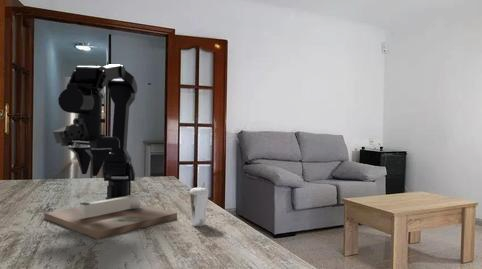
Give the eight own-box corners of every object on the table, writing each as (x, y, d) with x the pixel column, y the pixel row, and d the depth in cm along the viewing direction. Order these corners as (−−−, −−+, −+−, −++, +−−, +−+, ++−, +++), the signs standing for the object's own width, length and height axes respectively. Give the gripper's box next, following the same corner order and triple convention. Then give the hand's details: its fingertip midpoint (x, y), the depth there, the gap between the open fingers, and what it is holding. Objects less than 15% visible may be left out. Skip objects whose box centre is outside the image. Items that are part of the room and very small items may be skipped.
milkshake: (212, 222, 86) (212, 182, 86) (202, 228, 81) (203, 185, 81) (195, 220, 88) (196, 181, 88) (185, 226, 83) (186, 184, 83)
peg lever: (134, 205, 95) (134, 193, 95) (142, 207, 93) (142, 195, 93) (78, 216, 83) (78, 202, 83) (86, 218, 80) (86, 204, 80)
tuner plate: (121, 204, 105) (121, 199, 105) (177, 218, 89) (177, 212, 89) (44, 218, 87) (44, 212, 87) (97, 239, 72) (97, 231, 72)
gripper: (40, 113, 88) (40, 174, 88) (77, 112, 77) (76, 182, 77) (82, 115, 97) (82, 170, 97) (121, 114, 86) (120, 177, 86)
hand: (89, 175), depth 89 cm, fingers open, 5 cm apart
